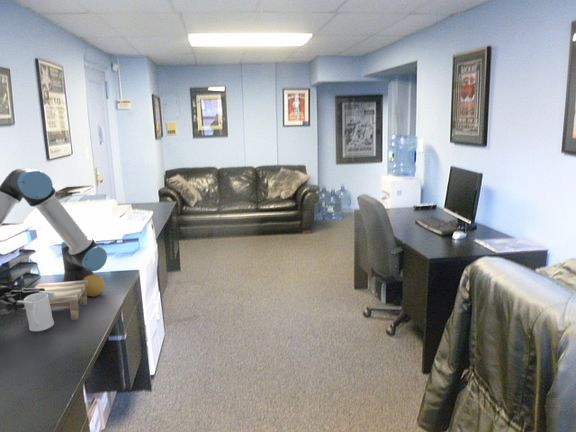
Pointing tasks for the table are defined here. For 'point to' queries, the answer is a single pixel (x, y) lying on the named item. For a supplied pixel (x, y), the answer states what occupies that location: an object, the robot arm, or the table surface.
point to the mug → (39, 312)
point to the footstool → (67, 295)
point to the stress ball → (94, 285)
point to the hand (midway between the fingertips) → (43, 300)
